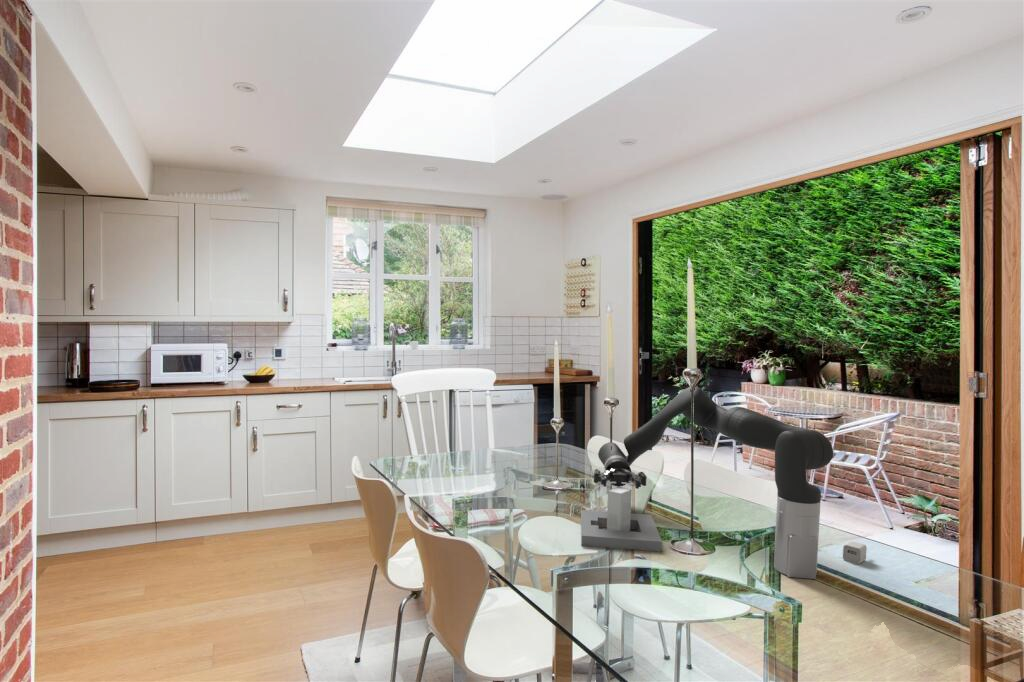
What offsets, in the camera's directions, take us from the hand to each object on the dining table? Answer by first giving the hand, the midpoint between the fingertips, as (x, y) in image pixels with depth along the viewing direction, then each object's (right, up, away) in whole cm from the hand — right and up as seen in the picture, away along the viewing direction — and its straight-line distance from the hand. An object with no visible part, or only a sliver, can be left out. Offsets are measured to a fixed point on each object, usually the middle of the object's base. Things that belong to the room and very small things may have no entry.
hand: (621, 483), depth 164 cm
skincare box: (-1, -14, +3) cm, 14 cm away
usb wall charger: (+57, -17, -9) cm, 60 cm away
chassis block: (0, -14, +2) cm, 14 cm away
